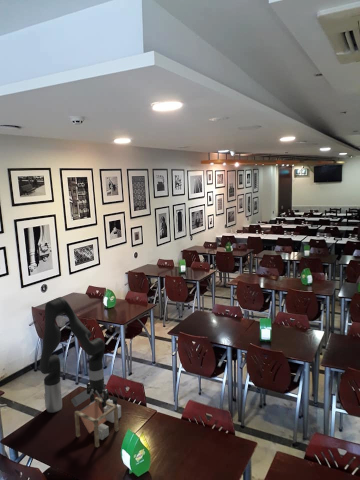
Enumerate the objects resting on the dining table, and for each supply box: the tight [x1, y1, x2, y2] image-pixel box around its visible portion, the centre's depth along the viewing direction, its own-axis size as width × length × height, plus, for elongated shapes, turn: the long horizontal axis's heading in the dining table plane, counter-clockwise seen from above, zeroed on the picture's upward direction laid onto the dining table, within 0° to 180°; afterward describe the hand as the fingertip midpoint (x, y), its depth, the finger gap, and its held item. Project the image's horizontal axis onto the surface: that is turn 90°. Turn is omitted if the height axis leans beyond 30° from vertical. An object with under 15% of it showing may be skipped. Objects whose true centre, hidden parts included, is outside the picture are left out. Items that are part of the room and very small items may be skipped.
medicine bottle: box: [103, 396, 122, 424], centre depth 209 cm, size 7×7×12 cm
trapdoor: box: [70, 389, 107, 434], centre depth 198 cm, size 20×12×4 cm
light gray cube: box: [98, 423, 110, 441], centre depth 194 cm, size 5×5×5 cm
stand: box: [74, 396, 120, 448], centre depth 196 cm, size 16×16×14 cm
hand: (98, 404), depth 193 cm, fingers open, 8 cm apart
